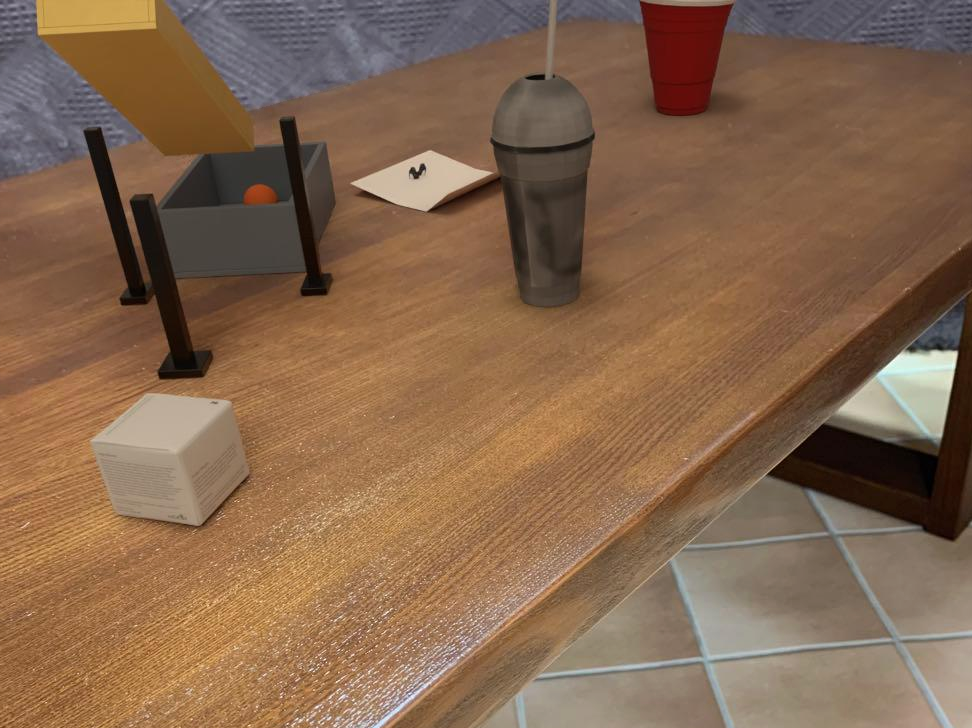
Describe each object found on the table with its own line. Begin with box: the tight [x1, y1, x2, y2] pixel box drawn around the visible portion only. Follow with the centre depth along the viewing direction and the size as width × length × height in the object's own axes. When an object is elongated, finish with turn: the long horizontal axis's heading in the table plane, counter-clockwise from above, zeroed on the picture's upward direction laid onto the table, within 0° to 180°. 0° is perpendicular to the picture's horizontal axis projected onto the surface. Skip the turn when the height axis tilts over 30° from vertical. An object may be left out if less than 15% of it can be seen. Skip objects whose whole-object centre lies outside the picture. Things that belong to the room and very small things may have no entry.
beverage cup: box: [489, 0, 596, 308], centre depth 75 cm, size 7×7×20 cm
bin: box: [156, 141, 336, 280], centre depth 92 cm, size 17×11×6 cm, turn 1°
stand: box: [82, 115, 333, 380], centre depth 75 cm, size 16×16×13 cm
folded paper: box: [349, 149, 501, 212], centre depth 102 cm, size 12×12×2 cm
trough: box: [35, 0, 255, 157], centre depth 71 cm, size 20×7×8 cm
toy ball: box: [244, 184, 278, 205], centre depth 95 cm, size 3×3×3 cm
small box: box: [89, 392, 251, 527], centre depth 59 cm, size 6×6×5 cm
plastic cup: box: [638, 0, 738, 116], centre depth 118 cm, size 11×11×12 cm
